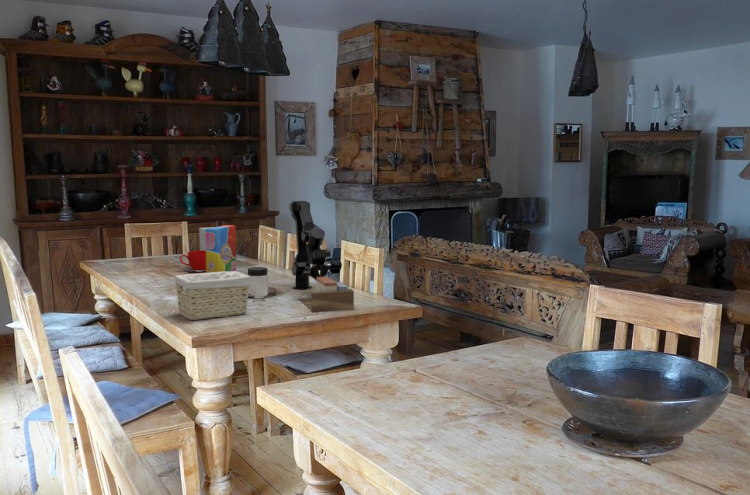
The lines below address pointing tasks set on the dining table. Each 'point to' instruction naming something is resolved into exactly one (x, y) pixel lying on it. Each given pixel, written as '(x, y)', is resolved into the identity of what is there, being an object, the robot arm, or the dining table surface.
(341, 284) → the small books
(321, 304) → the shelf
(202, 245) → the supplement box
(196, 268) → the ceramic cup
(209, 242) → the game box
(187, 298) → the storage basket
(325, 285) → the boxed book
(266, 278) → the jar
